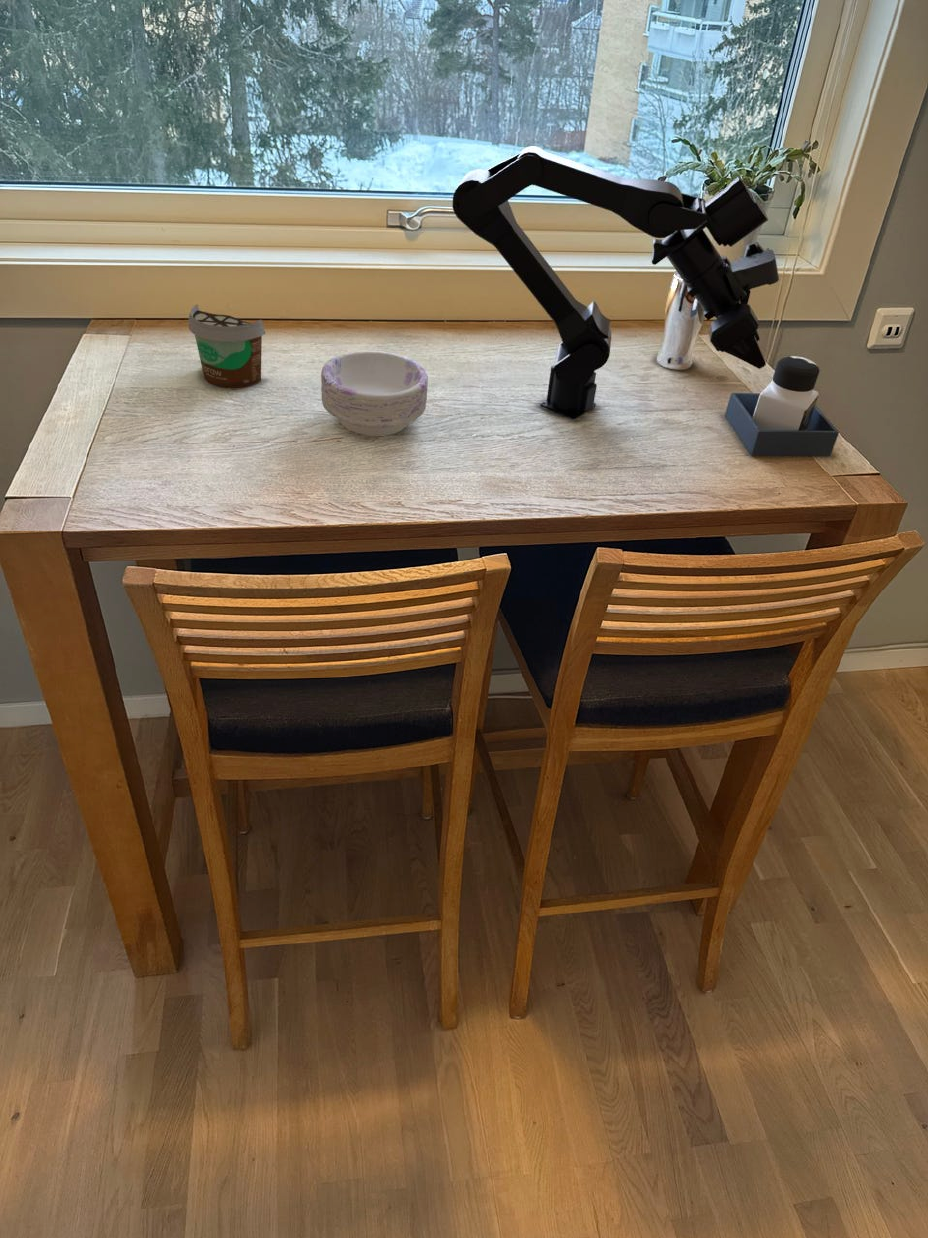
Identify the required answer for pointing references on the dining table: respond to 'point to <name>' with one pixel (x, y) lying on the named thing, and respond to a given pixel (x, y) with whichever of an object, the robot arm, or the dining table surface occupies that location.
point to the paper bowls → (374, 391)
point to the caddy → (779, 431)
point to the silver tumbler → (680, 326)
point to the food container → (227, 348)
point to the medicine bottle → (788, 396)
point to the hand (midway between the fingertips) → (759, 353)
